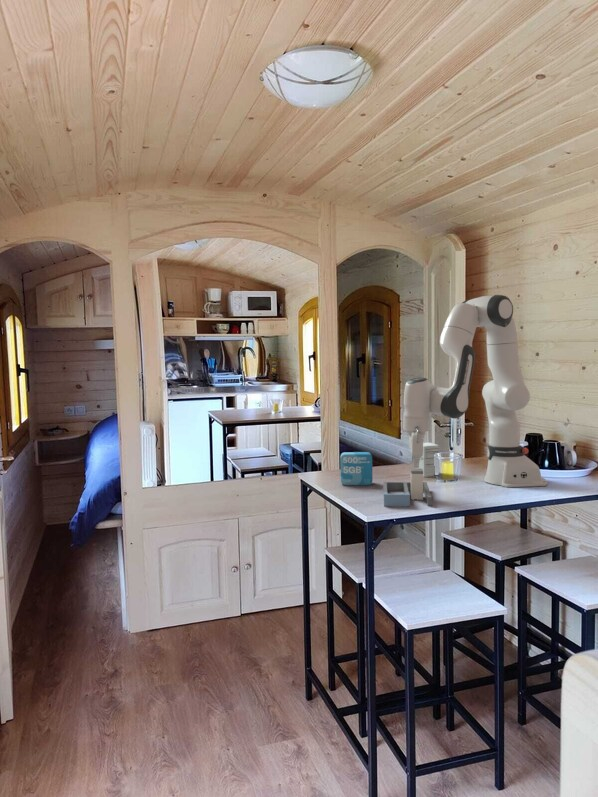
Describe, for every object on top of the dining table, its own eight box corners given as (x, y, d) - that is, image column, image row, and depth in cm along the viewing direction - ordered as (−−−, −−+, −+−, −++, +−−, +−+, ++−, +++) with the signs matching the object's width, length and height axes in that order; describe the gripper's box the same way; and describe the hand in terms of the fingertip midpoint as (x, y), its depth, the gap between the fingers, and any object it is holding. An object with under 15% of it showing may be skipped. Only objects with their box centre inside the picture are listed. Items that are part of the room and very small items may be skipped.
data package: (341, 485, 231) (340, 454, 230) (340, 482, 235) (340, 452, 234) (372, 485, 230) (372, 454, 229) (371, 482, 235) (371, 451, 234)
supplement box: (414, 473, 248) (414, 443, 247) (430, 472, 251) (430, 442, 249) (423, 477, 241) (423, 446, 240) (439, 475, 244) (439, 444, 242)
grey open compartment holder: (426, 490, 221) (426, 479, 220) (432, 507, 199) (432, 495, 198) (383, 489, 223) (383, 479, 222) (384, 506, 201) (384, 494, 200)
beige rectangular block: (422, 496, 212) (422, 468, 211) (423, 499, 208) (423, 471, 207) (410, 496, 212) (410, 468, 212) (411, 499, 209) (411, 471, 208)
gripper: (427, 429, 197) (426, 471, 198) (423, 421, 217) (422, 459, 219) (408, 429, 198) (407, 470, 199) (405, 421, 218) (404, 458, 219)
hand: (415, 464), depth 209 cm, fingers open, 8 cm apart
